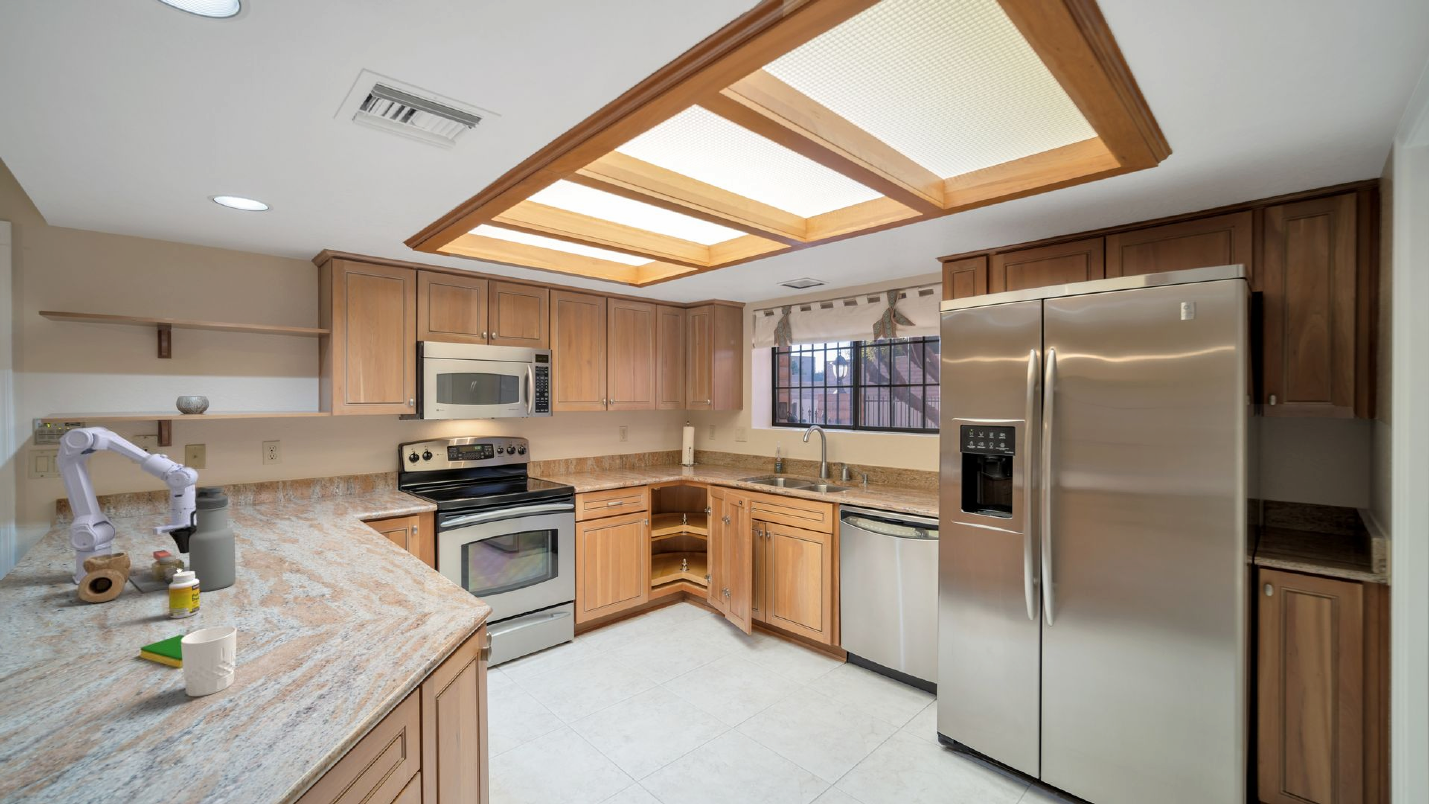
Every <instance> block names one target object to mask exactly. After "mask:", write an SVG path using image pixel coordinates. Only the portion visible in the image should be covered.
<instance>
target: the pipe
mask: <svg viewBox="0 0 1429 804" xmlns="http://www.w3.org/2000/svg"><path fill="white" fill-rule="evenodd" d="M84 561H85V562H84V563H83V567H84V570H85V571H86V572H87V573H88V574H87V575H85V576H84V577H83V578H82V580H81V581H80V583H79V584H78V586H77V589H78V593H77V594H78V596H79V598H80V599H82V600H83V601H85V602H89V603H104V602H109V601H112V600H114V599H115V598H118V596H120V594H121V593H122V592H123V591H124V588H125V585H126V583H127V582H128V581H129V580H130V579H129V577H131V576H130V575H131V573H130V567H131V559H130V556H129V553H128V552H116V553H112V554H105V555H100V556H91V557H89V558H86V559H85V560H84Z"/></svg>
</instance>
